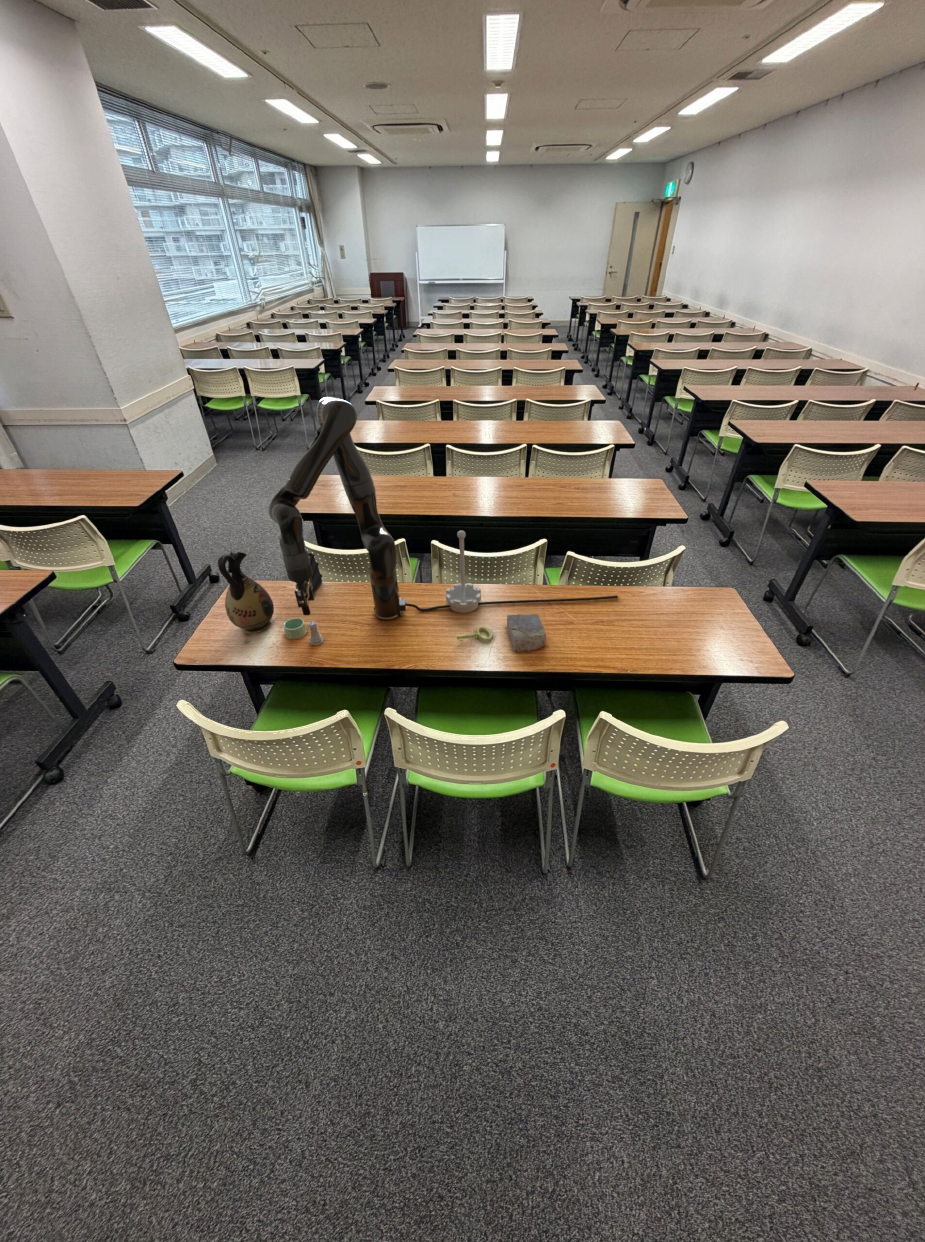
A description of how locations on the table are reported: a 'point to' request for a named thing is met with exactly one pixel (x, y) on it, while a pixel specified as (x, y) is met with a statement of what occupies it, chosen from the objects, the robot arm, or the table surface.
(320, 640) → the rook chess piece
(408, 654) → the table surface
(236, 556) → the ceramic jug
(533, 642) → the geological specimen
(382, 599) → the robot arm
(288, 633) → the cup
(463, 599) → the flag stand
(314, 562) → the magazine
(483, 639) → the key
